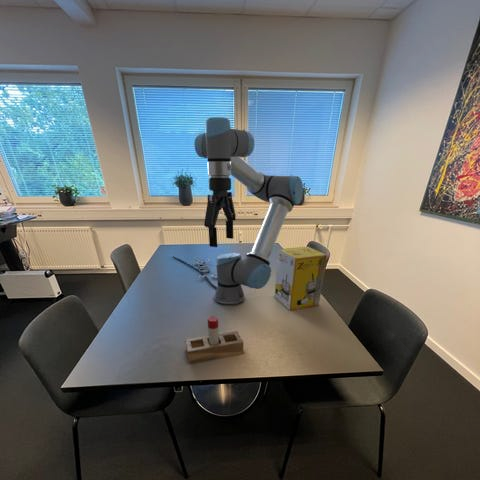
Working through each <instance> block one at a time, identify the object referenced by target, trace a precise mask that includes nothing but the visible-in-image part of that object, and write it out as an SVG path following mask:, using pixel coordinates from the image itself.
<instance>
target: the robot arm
mask: <svg viewBox="0 0 480 480" xmlns="http://www.w3.org/2000/svg"><path fill="white" fill-rule="evenodd" d="M193 144H194V145H193V146H194V151H195V153H196V155H197V156H198V157H200V158H201V159H202V158H203V159H206V160H207V175H208V176H209V177H208V190H209V191H211V192H212V194H207V204H206V209H205V215H204V223H203V224H204V225H203V226H204V227H205V228H207V229H208V242H209V243H208V244H209V248H217V247H218V232H217V231H218V230H217V227H216V225H217V221H218V218H219V213H220V211H221V210H222V211H223V214H224V217H225V219H226V220H225V238H226V239H230V240H231V239H232V240H233V239H234V221H236V219H237V217H236V216H237V215H236V211H235V206H234V201H233V193H232V191H231V189H232V178H231V177H230V176H232V177H233V178H234V179H236V180H237V181H238V182H240V183H241V184H242V185H244V187H245V188H246V190H247V191H248V193H250V194H252V195H253V196H254V197H256V198H258V199H259V200H261V201H262V202H263V201H264V202H266V203H268V204H269V208H268V210H267V212H266V215H265V217H264V220H263V222H262V224H261V227H260V229H259V232H258V234H257V237H256V239H255V241H254V244H253V247H252V248H251V251H250V252H247V253H246V255H245V257H244V258H242V255H241V253H238V252H228V253H223V254H220V255H217V258H216V275H217V278H216V279H217V286H216V285H214V284H213V283H212V282H211V280H210V279H209V278H208V277H207V276H206V275H205V274H204V273H203V272H202V273H203V274H204V275H205V277H204V278H205V279H206V281H207V282H208V283H209V285H211V287H213V288H214V289H215V292H214V301H215V302H216V303H217V304H220V305H224V306H234V305H239V304H241V303H243V302H244V300H245V293H244V290H243V288H242V286H244V287H247V288H250V289H255V290H260V289H262V288H264V287H265V286H266V285H267V284H268V282H269V280H270V279H271V275H272V267H271V265H270V264H271V262H270V256H271V254H272V252H273V250H274V246H275V244H276V242H277V239H278V237H279V235H280V232H281V230H282V228H283V225H284V222H285V220H286V217H287V215H288V213H291V212H292V211H293V209H294V206H298V205H300V204H301V202H302V200H303V196H304V184H303V183H304V182H303V180H302V179H301V177H300V176H299V175H293V174H290V175H273V174H272V175H269V174H265V173H263V172H262V171H260V170H256V169H254V168H253V166H251V165H250V164H249V163H248V162H247V161H246V160H244V159H243V158H247V157H249V156H251V155H252V154H253V152H254V150H255V144H256V143H255V137H254V136H253V134H252V133H251V132H250V131H247V130H245V129H237V128H232V126H231V121H230V119H229V118H228V117H223V116H215V117H209V118H207V119H206V121H205V132H204V133H199V134H197V135H196V137H195V138H194V143H193ZM182 260H183V259H181V260H179V261H180V262H182V263H184V264H186V265H188V266H189V267H191V268H193V269H195V270H196V271H197V272H199V273H200V274H201V275H203V274H202V273H201V272H200V271H199V270H200V269H198V268H197V267H196V268H197V269H198V270H197V269H196V268H194V267H195V266H194V265H192V264H190V263H189V264H190V265H189V264H187V263H188V262H187V261H185V260H183V261H182ZM184 261H185V262H184ZM186 262H187V263H186ZM191 265H192V266H191ZM193 266H194V267H193ZM204 275H203V276H204Z"/></svg>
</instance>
